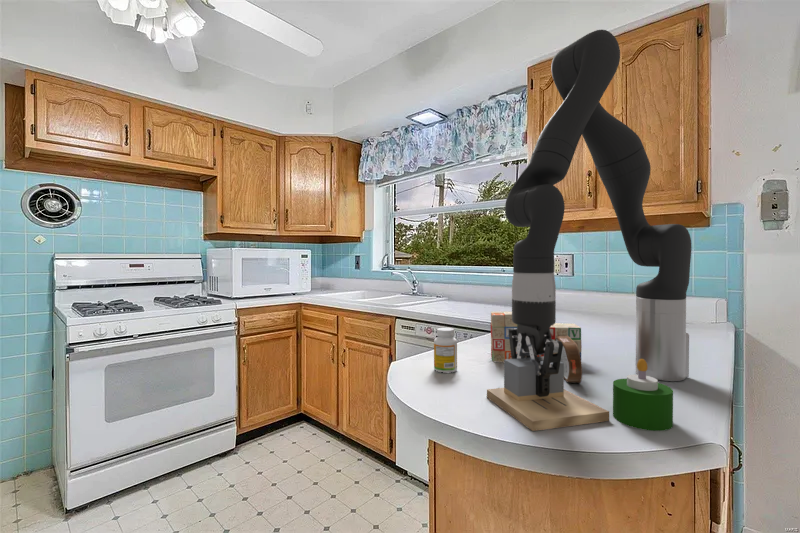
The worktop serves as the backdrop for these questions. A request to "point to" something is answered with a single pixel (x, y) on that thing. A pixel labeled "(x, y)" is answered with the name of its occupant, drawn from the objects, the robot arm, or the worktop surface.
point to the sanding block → (529, 380)
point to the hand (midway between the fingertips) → (533, 390)
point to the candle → (643, 401)
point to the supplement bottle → (445, 351)
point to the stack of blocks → (502, 343)
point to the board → (549, 410)
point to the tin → (570, 359)
